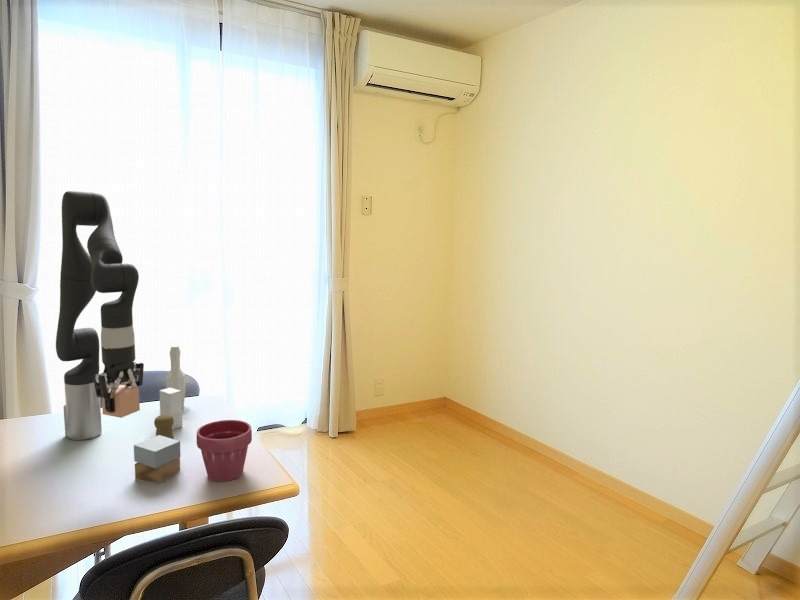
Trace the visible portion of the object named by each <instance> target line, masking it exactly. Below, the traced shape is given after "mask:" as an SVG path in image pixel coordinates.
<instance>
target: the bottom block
mask: <svg viewBox="0 0 800 600" xmlns="http://www.w3.org/2000/svg"><path fill="white" fill-rule="evenodd" d="M180 470H181V456H180V457H179V458H177V459H175V460H173V461H171V462H168V463H166V464H164V465H162V466H160V467H157V468H153V467H150V466H147V465H144V464H141V463H138V462H135V464H134V478H135V479H134V480H135V481H142V482H150V483H159V484H164V483H166V482H167V481H169V479H171V478H172V477H173V476H174V475H175V474H177V473H178V472H179V471H180Z"/></svg>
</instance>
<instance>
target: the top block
mask: <svg viewBox="0 0 800 600" xmlns="http://www.w3.org/2000/svg"><path fill="white" fill-rule="evenodd" d="M179 457H180V458H181V441H180V440H177V439H175V438H174V439H171V438H168V437H164V436H161V435H158V436H156V435H155V436H153V437H151V438H149V439H144V440H143V441H141V442H137V443H136V444H134V445H133V459H134V461H133V462H135V463H137V462H138V463H141V464H144V465H147V466H150V467H153V468H157V467H160V466H162V465H164V464H166V463H168V462H171V461H173V460H175V459H177V458H179Z"/></svg>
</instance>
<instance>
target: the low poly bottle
mask: <svg viewBox="0 0 800 600" xmlns="http://www.w3.org/2000/svg"><path fill="white" fill-rule="evenodd" d="M169 358H170V359H169V360H170V370H169V371H168V373H167V375H166V377H165V389H167V388H173V389H177V390H180V391H181V395H182V408H183V407H184V406H185V398H186V397H185V395H186V388H187V381H186V379H187V378H186V373H185V372H183V370H182V369H181V350H180V346H179V345H171V346H170V350H169Z"/></svg>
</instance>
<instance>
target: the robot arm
mask: <svg viewBox="0 0 800 600" xmlns="http://www.w3.org/2000/svg"><path fill="white" fill-rule="evenodd" d="M112 219H113V218H112V215H111V210H110V205H109V202H108V199H107V198H106V196H105V195H103V194H102V193H100V192H99V193H98V192H91V191H90V192H89V191H76V190H67V191H65V192H64V193H63V196H62V199H61V232H62V234H61V235H62V247H61V251H62V252H61V266H60V275H59V276H60V280H59V290H60V292H59V312H58V319H57V320H58V321H57V329H56V337H55V338H56V339H55V350H56V351H55V352H56V355H57V358H58V359H59V360H60V361H62V362H72V361H80V360H82V361H81V362H80V363H79V364H77V365H76V366H74V367H73V368H71V369H69V370H67V371H66V372H65V373H64V375H63V380H64V381H63V382H64V393H65V395H64V397H65V404H64V405H63V420H64V433H65V434H64V436H66V437H67V438H68V439H69V440H73V441H74V440H75V441H82V440H84V441H85V440H91V439H93V438H95V437H98V436H100V435H101V434H102V429H103V428H102V411H101V410H102V408H101V399H102V398H104V399H105V410H106V411H107V412H110V413H113V412H115V400H114V395H115V392H116V390H117V389H118V387H119V385H122V384H123V385H125V386H131V387H137V388H139V387H141V386H142V385H143V383H144V382H143V381H144V365H145V363H144V362H138V361H135V360H136V343H135V342H136V341H135V330H134V326H133V325H134V324H133V323H134V322H133V321H134V320H133V306H134V305H133V304H134V300H135V295H136V290H137V288H138V285H139V279H140V277H139V271H138V269H137V268H136V266H134V264H132V263H125V262H124V263H123V260H124V259H123V254H122V252H121V249H120V247H119V244H118V243H117V240H116V236H115V232H114V226H113V225H114V224H113V220H112ZM78 226H87V227H92V226H93V227H96V226H97V227H96V228H95V229H94V230H93V231H92V232H91V234H89V236H88V239H87V243H86V248H87V250H86V249H85V247H84V245H83V244H82V243H81V240H80V239H79V236H78V233H77V227H78ZM96 292H98V293H100V294H111V293H120V296H119V297H118V298H116V299H114V300H111V301H107V302H103V304H101V306H100V322H101V324H100V325H101V326H100V327H101V331H100V337H99V335H98V332H97V330H96V329H95V328H93V327H83V328H76V329H75V326H76V323H77V320H78V318H79V317H80V315H81V314H82V312H83V311H84V310H85V308H86V307H87V306H88V304H90V302H91V301H92V299H93V298H94V296H95V295H96ZM99 338H100V339H99ZM100 343H101V345H100ZM100 347H101V349H100ZM100 350H101V362H102V364H103V366H104V368H103V372H101V373H100ZM111 384H112V385H111ZM110 389H111V390H110ZM109 390H110V393H108V392H109Z"/></svg>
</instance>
